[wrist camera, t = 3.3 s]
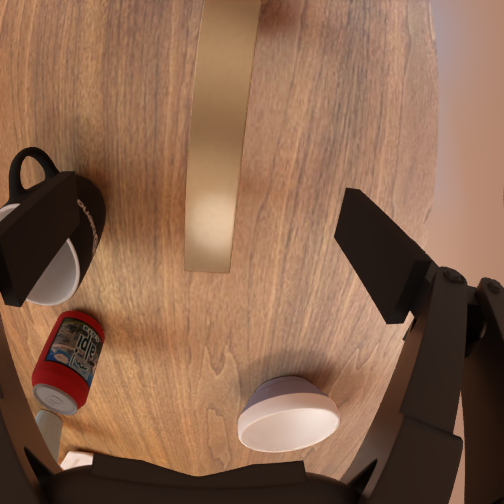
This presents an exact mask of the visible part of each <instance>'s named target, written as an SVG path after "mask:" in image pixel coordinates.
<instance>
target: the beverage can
mask: <svg viewBox="0 0 504 504" xmlns="http://www.w3.org/2000/svg"><path fill="white" fill-rule="evenodd" d="M104 339H105V336H104V332H103V329H102V328H101V326H100V325H99V323H98V322H97V321H96V320H94V319H93V318H92V317H90V316H89V315H87V314H85V313H82V312H79V311H66V312H63V313H62V314H61V315H60V316H59V318H58V319H57V321H56V323H55V325H54V327H53V329H52V331H51V333H50V335H49V337H48V339H47V341H46V344H45V346H44V348H43V350H42V352H41V355H40V357H39V359H38V362H37V364H36V366H35V369H34V371H33V374H32V385H33V391H32V392H33V395H34V397H35V398H36V400H37V401H38V402H39V403H40V404H42V405H43V406H44V407H46V408H47V409H49V410H51V411H53V412H56V413H59V414H62V415H74V414H76V412H77V410H78V409H79V408H81V407H82V406H83V405H84V404H85V403H86V400H87V397H88V393H89V390H90V386H91V383H92V379H93V376H94V373H95V369H96V366H97V363H98V359H99V356H100V353H101V349H102V346H103V343H104Z"/></svg>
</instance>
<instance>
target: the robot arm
mask: <svg viewBox="0 0 504 504" xmlns="http://www.w3.org/2000/svg"><path fill="white" fill-rule="evenodd" d="M79 224H80V219H79V210H78V201H77V190H76V178H75V171H65V172H60V173H59V174H58V175H56V176H55V177H54V178H52V179H51V180H50V181H48V182H47V183H46V184H44V185H43V186H42V187H41V188H39V189H38V190H37V191H36V192H34V193H33V194H32V195H31V196H29V197H28V198H27V199H26V200H24V201H23V202H22V203H21V204H20V205H18V206H17V207H16V208H15V209H14V210H13V211H11V212H10V213H9V214H8V215H7V216H6V217H5V218H3V219H2V220H1V221H0V292H1V295H2V297H3V300H4V303H5V305H10V306H16V307H21V306H22V304H23V303H24V301H25V300H26V298H27V296H28V295H29V293H30V292H31V290H32V289H33V287H34V286H35V284H36V283H37V281H38V280H39V278H40V277H41V275H42V274H43V272H44V271H45V269H46V268H47V267H48V265H49V264H50V262H51V261H52V260H53V258H54V257H55V255H56V254H57V253H58V251H59V250H60V249H61V247H62V246H63V245H64V243H65V242H66V241H67V239H68V238H69V237H70V235H71V234H72V233H73V232H74V230H75V229H76V228H77V226H78V225H79ZM334 238H335V240H336V241H337V243H338V244H339V246H340V247H341V249H342V251H343V252H344V254H345V255H346V257H347V258H348V260H349V262H350V263H351V265H352V266H353V268H354V270H355V271H356V273H357V275H358V276H359V278H360V280H361V281H362V283H363V284H364V286H365V288H366V289H367V291H368V293H369V294H370V296H371V298H372V300H373V301H374V303H375V305H376V306H377V308H378V310H379V311H380V313H381V315H382V317H383V318H384V320H385V322H386V324H400V323H404V321H405V319H406V317H407V315H408V313H409V311H411V313H412V314H413V316H414V319H413V321H412V323H411V325H410V326H409V328H408V330H407V332H406V334H405V336H404V338H403V340H404V341H405V342H404V345H403V348H402V351H401V354H400V357H399V359H398V362H397V365H396V367H395V370H394V373H393V375H392V378H391V380H390V383H389V385H388V388H387V390H386V392H385V395H384V397H383V400H382V402H381V404H380V406H379V409H378V411H377V413H376V415H375V418H374V420H373V422H372V424H371V426H370V428H369V430H368V432H367V434H366V437H365V439H364V441H363V443H362V445H361V447H360V448H359V450H358V452H357V454H356V456H355V458H354V460H353V462H352V463H351V465H350V467H349V468H348V470H347V471H346V472H345V474H344V475H343V476H342V478H341V479H340V480H339V481H338V480H336V479H334V478H330V477H327V476H324V475H320V474H315V473H310V472H305V467H304V462H303V460H302V461H293V462H282V463H269V464H252V465H248V466H245V467H241V468H237V469H233V470H229V471H225V472H220V473H216V474H211V475H206V476H199V477H197V476H191V475H187V474H184V473H180V472H177V471H173V470H170V469H167V468H164V467H161V466H158V465H155V464H152V463H149V462H146V461H143V460H135V459H128V458H121V457H114V456H108V455H103V454H97V453H94V454H93V460H92V465H83V466H77V467H73V468H70V469H66V470H64V471H63V470H62V469H61V468H60V466H59V465H58V464H57V462H56V461H55V459H54V458H53V456H52V454H51V453H50V451H49V449H48V447H47V445H46V443H45V441H44V439H43V436H42V434H41V432H40V430H39V428H38V426H37V423H36V421H35V419H34V416H33V414H32V412H31V409H30V407H29V404H28V402H27V399H26V397H25V394H24V391H23V389H22V386H21V383H20V380H19V378H18V375H17V372H16V369H15V366H14V362H13V359H12V356H11V353H10V349H9V346H8V342H7V339H6V335H5V331H4V327H3V323H2V319H1V314H0V504H448V503H449V499H450V497H451V493H452V490H453V486H454V482H455V479H456V475H457V471H458V467H459V463H460V459H461V454H462V449H463V440H462V439H461V437H459V436H456V435H454V434H453V430H454V425H455V420H456V414H457V409H458V403H459V397H460V390H461V397H462V407H463V420H464V437H465V493H464V496H465V497H464V501H465V502H464V504H504V288H503V287H502V286H501V284H500V283H499V282H497V281H496V280H494V279H493V280H492V279H490V278H486V277H485V278H482V279H481V281H480V283H479V285H478V287H477V288H475V287H472V286H468V285H467V281H466V279H465V278H464V277H463V276H462V275H461V274H460V273H459V272H457V271H456V270H454V269H451V268H448V267H438V265H437V264H436V263H435V262H434V261H433V260H432V259H431V258H430V257H429V256H428V255H427V254H426V253H425V251H424V250H423V249H421V247H420V246H419V245H418V244H417V243H416V242H415V241H414V240H412V239H411V238H410V237H409V236H408V235H407V234H406V233H405V232H404V231H403V230H402V229H401V228H400V227H399V226H398V225H397V224H396V223H395V222H394V221H393V220H392V219H391V218H389V217H388V216H387V215H386V214H385V213H384V212H383V211H382V210H381V209H380V208H379V207H378V206H377V205H376V204H375V203H374V202H373V201H372V200H371V199H369V198H368V197H367V196H366V195H365V194H364V193H363V192H362V191H361V190H359V189H352V188H346V190H345V194H344V198H343V203H342V207H341V211H340V215H339V219H338V223H337V227H336V231H335V235H334Z"/></svg>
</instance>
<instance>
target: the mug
mask: <svg viewBox="0 0 504 504" xmlns="http://www.w3.org/2000/svg"><path fill="white" fill-rule="evenodd" d="M26 156H31V157H33V158H35V159H36V160H37V161H38V162H39V163H40V164H41V166H42V167H43V169H44V172H45V180H44V181H43V182H40V183H38V184H36V185H34V186H33V187H31V188H29V189H24V188H23V186H22V184H21V178H20V171H21V165H22V162H23V160H24V159H25V157H26ZM59 173H60V172H59V171H58V170H57V168H56V167H55V165H54V163H53V162H52V160H51V159H50V157H49V156H48V155H47V154H46V153H45V152H44V151H43V150H41V149H39V148H36V147H28V148H25V149H23V150H21V151H20V152H19V153H18V154H17V155H16V156H15V158H14V159H13V161H12V163H11V166H10V170H9V200H8V202H7V203H6V204H5V205H4V206H3V207H1V208H0V221H1V220H2V219H3V218H5V217H6V216H7V215H8V214H9V213H10V212H11V211H13V210H14V209H15V208H16V207H17V206H18V205H20V204H21V203H22V202H23V201H24V200H26V199H27V198H28V197H29V196H31V195H32V194H33V193H34V192H36V191H37V190H38V189H39V188H41V187H42V186H43V185H44V184H46V183H47V182H48V181H50V180H51V179H52V178H54V177H55V176H56V175H58V174H59ZM75 178H76V190H77V201H78V210H79V219H80V224H79V225H78V226H77V228H76V229H75V230H74V232H73V233H72V234H71V235H70V237H69V238H68V239H67V241H66V242H65V243H64V245H63V246H62V247H61V249H60V250H59V251H58V253H57V254H56V255H55V257H54V258H53V260H52V261H51V262H50V264H49V265H48V267H47V268H46V269H45V271H44V272H43V274H42V275H41V277H40V278H39V280H38V281H37V283H36V284H35V286H34V287H33V289H32V290H31V292H30V293H29V295H28V296H27V298H26V300H27V301H29V302H32V303H35V304H38V305H45V306H53V305H58V304H61V303H64V302H66V301H67V300H68V299H70V298H71V297H72V296H73V294H74V293H75V292H76V290H77V289H78V287H79V285H80V284H81V282H82V280H83V278H84V276H85V274H86V272H87V269H88V267H89V265H90V263H91V261H92V258H93V256H94V254H95V251H96V249H97V246H98V244H99V241H100V238H101V235H102V232H103V228H104V224H105V217H106V209H105V203H104V199H103V197H102V195H101V193H100V191H99V189H98V188H97V187H96V186H95V185H94V184H93V183H92V182H91V181H90V180H88V179H86V178H84V177H82V176H79V175H75Z"/></svg>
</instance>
